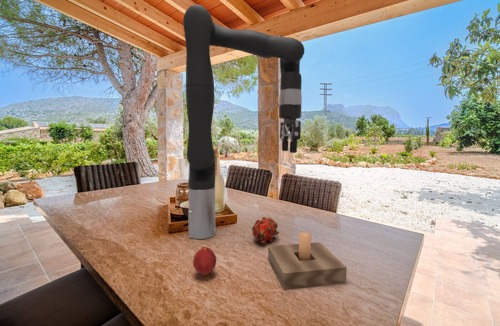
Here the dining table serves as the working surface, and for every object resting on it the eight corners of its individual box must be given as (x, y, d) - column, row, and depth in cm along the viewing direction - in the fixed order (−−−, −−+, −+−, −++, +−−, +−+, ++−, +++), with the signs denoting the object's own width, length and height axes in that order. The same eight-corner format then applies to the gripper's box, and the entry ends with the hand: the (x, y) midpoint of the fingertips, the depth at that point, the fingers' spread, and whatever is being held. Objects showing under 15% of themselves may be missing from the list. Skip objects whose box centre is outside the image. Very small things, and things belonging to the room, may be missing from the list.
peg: (300, 273, 63) (301, 237, 62) (296, 267, 66) (297, 232, 65) (311, 272, 63) (312, 236, 62) (306, 266, 66) (308, 231, 65)
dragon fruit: (272, 237, 88) (261, 257, 78) (254, 222, 90) (241, 240, 79) (285, 222, 85) (276, 241, 74) (266, 207, 86) (255, 223, 75)
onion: (195, 269, 65) (194, 240, 64) (216, 268, 65) (216, 239, 64) (191, 282, 59) (191, 250, 58) (215, 281, 59) (215, 250, 58)
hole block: (283, 289, 56) (283, 273, 56) (268, 259, 70) (268, 246, 70) (345, 282, 59) (346, 267, 59) (319, 254, 73) (320, 242, 72)
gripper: (273, 106, 89) (272, 150, 91) (286, 101, 75) (285, 153, 77) (293, 107, 90) (292, 150, 92) (309, 101, 76) (307, 153, 78)
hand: (288, 151), depth 84 cm, fingers open, 8 cm apart
